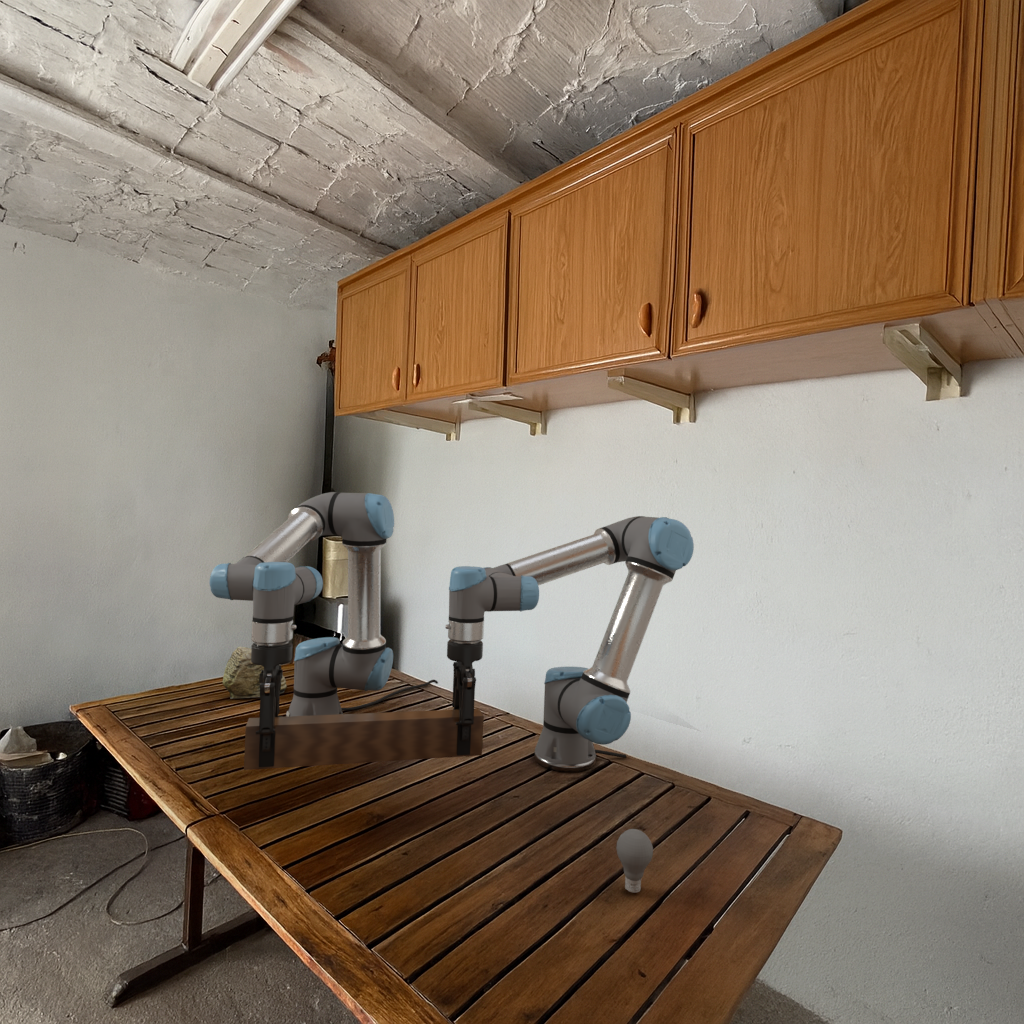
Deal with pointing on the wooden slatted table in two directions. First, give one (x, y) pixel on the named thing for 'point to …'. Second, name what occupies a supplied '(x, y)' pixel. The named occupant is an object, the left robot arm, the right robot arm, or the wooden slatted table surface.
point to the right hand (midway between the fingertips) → (461, 749)
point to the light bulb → (634, 857)
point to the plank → (362, 738)
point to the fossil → (244, 675)
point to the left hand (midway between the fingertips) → (268, 760)
